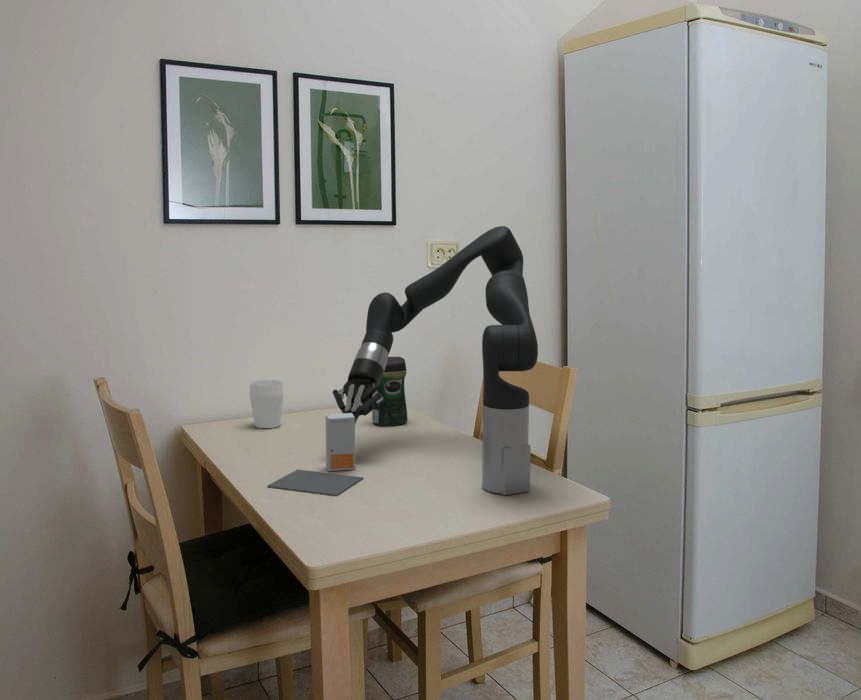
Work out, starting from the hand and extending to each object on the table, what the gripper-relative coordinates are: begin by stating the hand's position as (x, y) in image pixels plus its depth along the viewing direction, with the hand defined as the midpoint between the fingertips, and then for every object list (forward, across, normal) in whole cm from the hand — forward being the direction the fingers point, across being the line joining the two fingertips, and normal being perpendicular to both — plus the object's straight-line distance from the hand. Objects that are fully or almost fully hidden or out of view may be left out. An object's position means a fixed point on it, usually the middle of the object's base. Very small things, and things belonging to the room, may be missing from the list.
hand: (346, 428), depth 169 cm
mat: (+16, 0, +4) cm, 17 cm away
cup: (-11, +37, -23) cm, 45 cm away
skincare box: (+8, 0, -4) cm, 9 cm away
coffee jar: (-22, +7, -34) cm, 41 cm away
